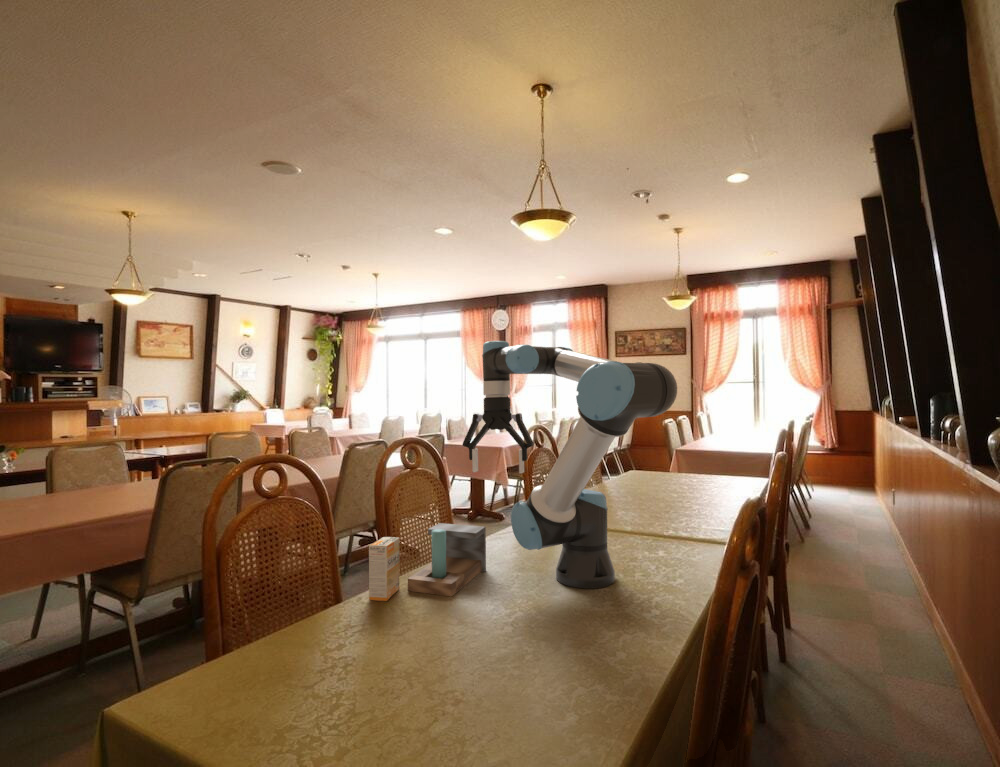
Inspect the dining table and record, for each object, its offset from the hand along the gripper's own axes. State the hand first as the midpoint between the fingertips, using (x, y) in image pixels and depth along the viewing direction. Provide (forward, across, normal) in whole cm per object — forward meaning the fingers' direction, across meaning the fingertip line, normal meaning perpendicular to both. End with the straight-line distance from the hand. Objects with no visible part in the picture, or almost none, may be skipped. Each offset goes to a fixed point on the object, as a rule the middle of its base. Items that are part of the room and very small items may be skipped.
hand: (498, 472), depth 153 cm
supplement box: (+27, +21, +27) cm, 43 cm away
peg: (+26, +10, +18) cm, 34 cm away
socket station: (+26, +10, +14) cm, 32 cm away
